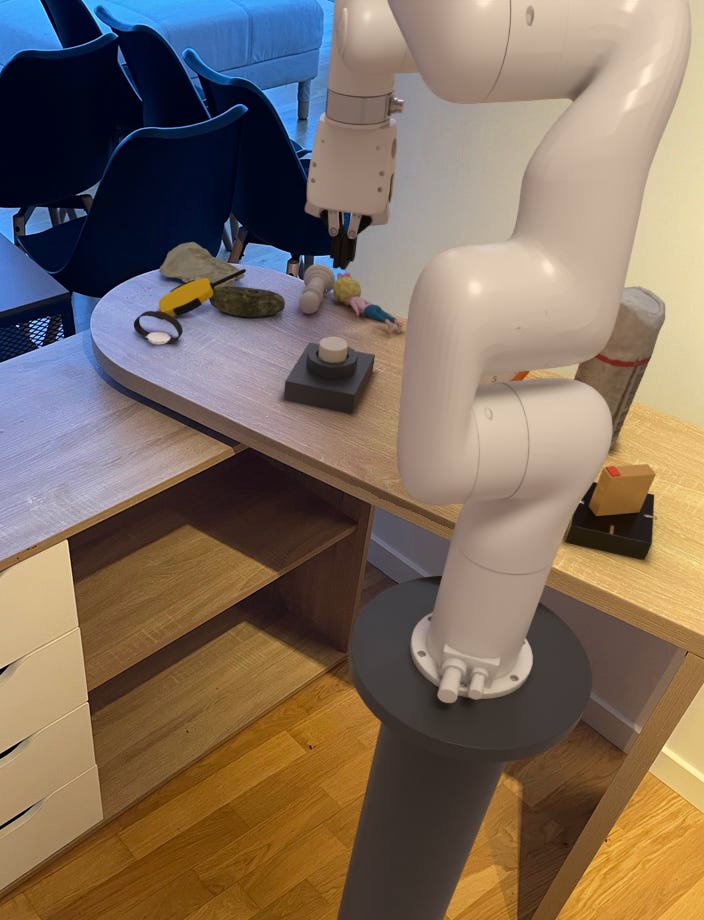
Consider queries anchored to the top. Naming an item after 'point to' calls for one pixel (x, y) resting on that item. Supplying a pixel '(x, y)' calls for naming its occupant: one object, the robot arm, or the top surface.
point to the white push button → (333, 349)
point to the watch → (158, 336)
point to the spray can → (625, 353)
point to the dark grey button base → (329, 380)
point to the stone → (197, 265)
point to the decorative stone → (247, 301)
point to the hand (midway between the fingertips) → (341, 264)
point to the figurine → (360, 301)
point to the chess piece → (316, 287)
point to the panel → (613, 528)
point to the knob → (621, 489)
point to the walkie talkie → (190, 295)
